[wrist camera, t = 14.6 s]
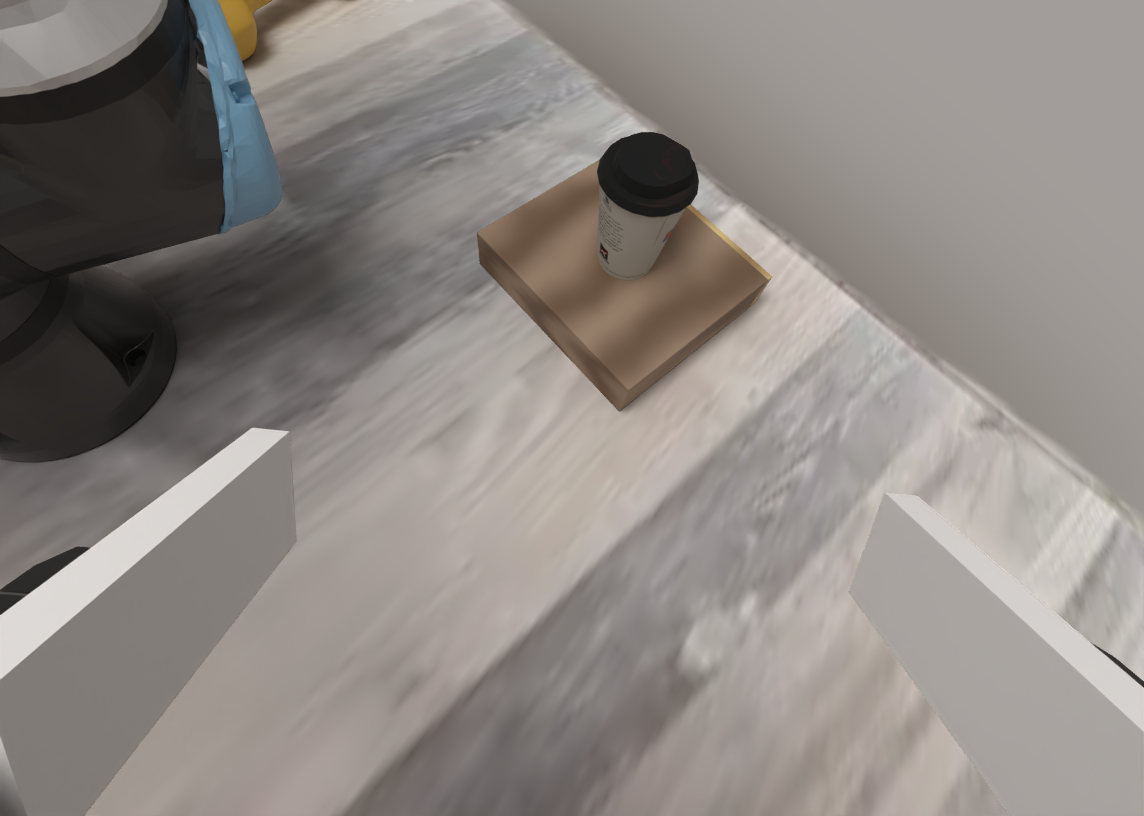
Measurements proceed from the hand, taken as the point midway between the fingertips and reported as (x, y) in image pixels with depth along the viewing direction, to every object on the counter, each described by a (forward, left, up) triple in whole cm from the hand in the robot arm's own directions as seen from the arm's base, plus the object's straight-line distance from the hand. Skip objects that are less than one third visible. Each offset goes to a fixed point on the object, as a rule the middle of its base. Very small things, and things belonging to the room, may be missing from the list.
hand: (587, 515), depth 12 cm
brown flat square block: (-16, +22, -28) cm, 39 cm away
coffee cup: (-16, +22, -24) cm, 36 cm away
